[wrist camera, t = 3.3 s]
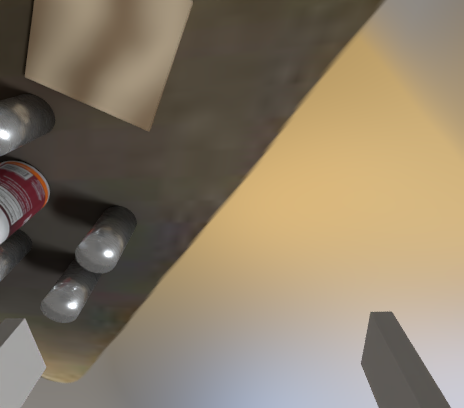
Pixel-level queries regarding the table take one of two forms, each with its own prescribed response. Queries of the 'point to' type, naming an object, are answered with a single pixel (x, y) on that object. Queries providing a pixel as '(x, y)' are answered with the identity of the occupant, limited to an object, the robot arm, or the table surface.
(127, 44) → the coaster
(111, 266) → the cylinder
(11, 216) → the pill bottle
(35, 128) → the cylinder
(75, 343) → the table surface
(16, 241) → the cylinder
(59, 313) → the grey cylinder
